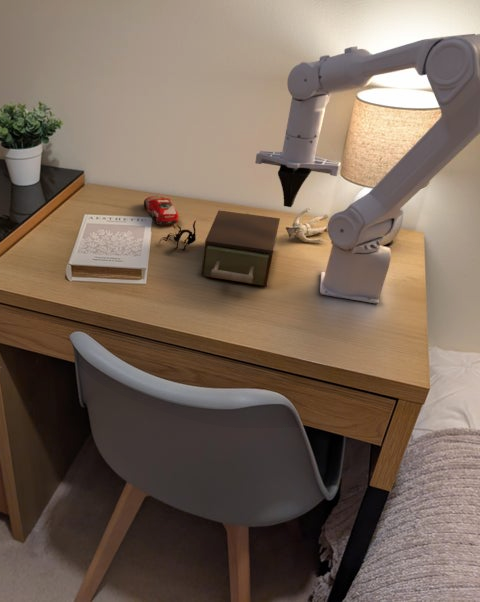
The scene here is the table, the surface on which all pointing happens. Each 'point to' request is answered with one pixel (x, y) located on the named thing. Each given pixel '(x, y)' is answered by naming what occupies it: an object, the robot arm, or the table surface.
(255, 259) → the drawer
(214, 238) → the cabinet
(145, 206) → the race car
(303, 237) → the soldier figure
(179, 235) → the creature
